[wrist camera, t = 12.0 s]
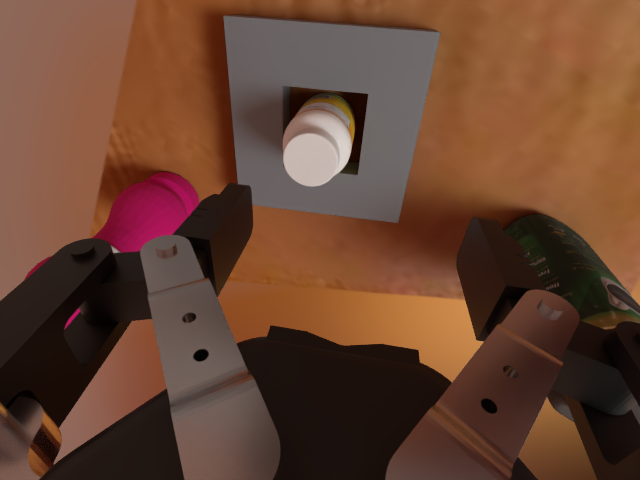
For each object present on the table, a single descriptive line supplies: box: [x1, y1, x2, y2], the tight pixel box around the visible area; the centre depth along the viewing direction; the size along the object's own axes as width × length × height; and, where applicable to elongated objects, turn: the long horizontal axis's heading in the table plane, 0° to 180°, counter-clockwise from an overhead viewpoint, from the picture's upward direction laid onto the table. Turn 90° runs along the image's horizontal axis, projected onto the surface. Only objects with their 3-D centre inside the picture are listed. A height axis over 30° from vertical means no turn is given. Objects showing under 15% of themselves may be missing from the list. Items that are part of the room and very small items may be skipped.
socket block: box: [223, 15, 441, 223], centre depth 31 cm, size 16×16×3 cm
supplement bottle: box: [283, 93, 356, 186], centre depth 28 cm, size 5×5×10 cm
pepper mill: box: [25, 172, 199, 330], centre depth 31 cm, size 7×7×20 cm
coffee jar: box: [503, 214, 640, 424], centre depth 29 cm, size 10×8×19 cm
